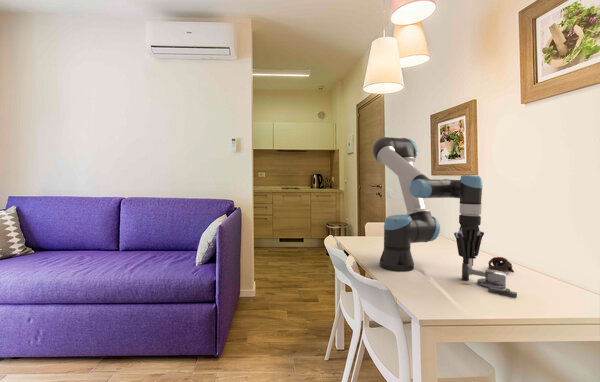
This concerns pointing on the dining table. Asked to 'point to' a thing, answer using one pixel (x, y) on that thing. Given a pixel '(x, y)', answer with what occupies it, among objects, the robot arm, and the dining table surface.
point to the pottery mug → (500, 264)
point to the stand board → (498, 291)
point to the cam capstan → (486, 277)
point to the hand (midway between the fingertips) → (467, 274)
